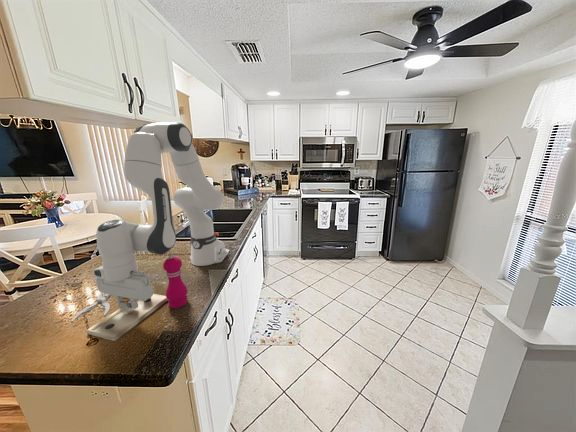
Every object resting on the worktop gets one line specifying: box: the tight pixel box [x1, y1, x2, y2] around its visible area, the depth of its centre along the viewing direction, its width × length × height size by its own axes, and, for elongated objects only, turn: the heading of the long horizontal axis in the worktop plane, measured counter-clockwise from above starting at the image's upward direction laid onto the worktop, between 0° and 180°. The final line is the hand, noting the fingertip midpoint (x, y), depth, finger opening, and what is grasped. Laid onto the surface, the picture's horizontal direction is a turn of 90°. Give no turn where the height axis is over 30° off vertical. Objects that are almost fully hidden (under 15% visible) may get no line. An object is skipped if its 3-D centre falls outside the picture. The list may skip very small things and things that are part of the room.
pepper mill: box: [163, 253, 189, 309], centre depth 82 cm, size 7×7×20 cm
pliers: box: [70, 292, 111, 323], centre depth 83 cm, size 10×2×15 cm
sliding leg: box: [118, 297, 138, 314], centre depth 77 cm, size 4×3×5 cm
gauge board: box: [86, 293, 169, 342], centre depth 78 cm, size 21×11×2 cm, turn 164°
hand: (129, 306), depth 77 cm, fingers closed on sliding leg, 3 cm apart
